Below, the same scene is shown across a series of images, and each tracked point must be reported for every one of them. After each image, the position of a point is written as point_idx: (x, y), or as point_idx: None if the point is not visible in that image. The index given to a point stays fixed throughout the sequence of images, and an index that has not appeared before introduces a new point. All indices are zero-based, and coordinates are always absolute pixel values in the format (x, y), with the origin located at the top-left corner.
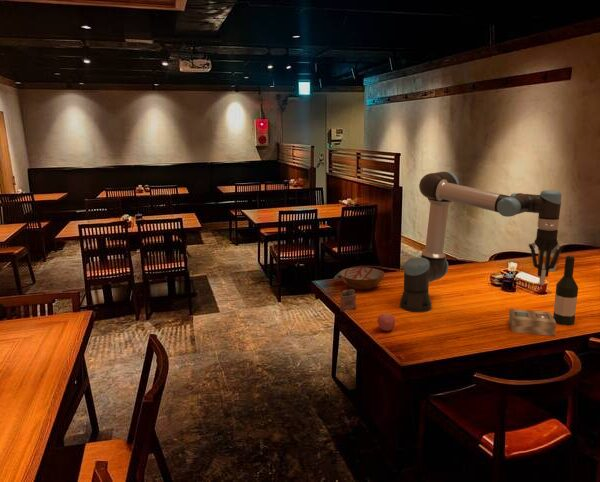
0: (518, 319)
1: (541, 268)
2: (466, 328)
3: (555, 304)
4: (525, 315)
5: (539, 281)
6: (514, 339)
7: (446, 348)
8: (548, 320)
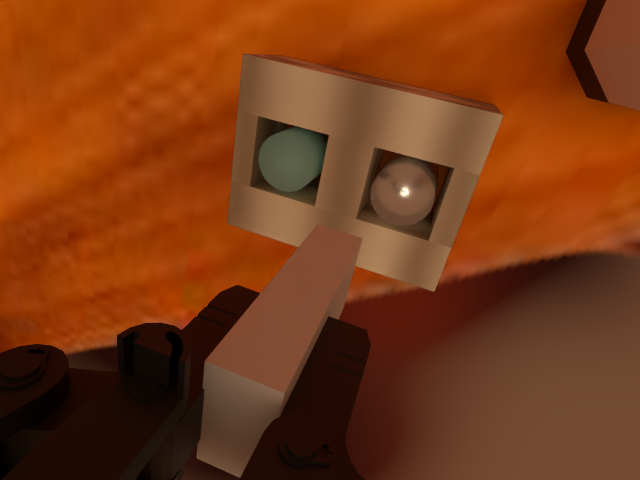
0: (252, 230)
1: (175, 470)
2: (94, 154)
3: (624, 11)
4: (299, 188)
5: (311, 234)
6: (252, 270)
7: (54, 307)
8: (405, 261)
